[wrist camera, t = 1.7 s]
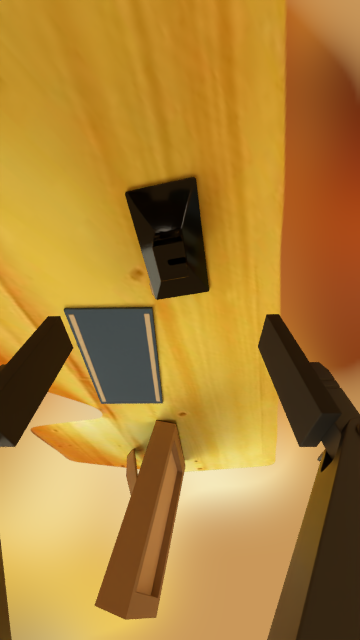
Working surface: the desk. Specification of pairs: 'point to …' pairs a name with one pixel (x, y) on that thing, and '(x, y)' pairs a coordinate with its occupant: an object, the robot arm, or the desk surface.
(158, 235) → the build plate
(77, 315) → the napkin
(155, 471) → the photo frame
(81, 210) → the desk surface
